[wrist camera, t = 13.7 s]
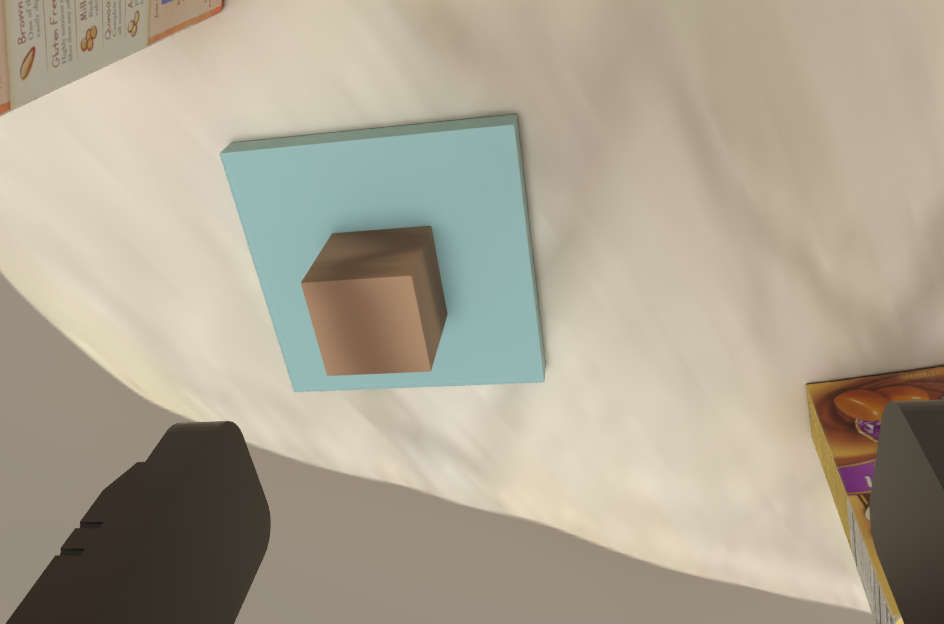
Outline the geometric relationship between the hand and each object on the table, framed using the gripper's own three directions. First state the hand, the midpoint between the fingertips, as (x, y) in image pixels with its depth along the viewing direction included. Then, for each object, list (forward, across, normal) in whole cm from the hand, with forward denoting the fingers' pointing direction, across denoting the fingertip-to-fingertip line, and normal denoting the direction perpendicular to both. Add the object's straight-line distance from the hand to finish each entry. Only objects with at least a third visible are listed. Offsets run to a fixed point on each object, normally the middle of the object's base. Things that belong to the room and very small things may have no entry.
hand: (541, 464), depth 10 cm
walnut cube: (+27, +10, +11) cm, 30 cm away
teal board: (+28, +10, +11) cm, 32 cm away
